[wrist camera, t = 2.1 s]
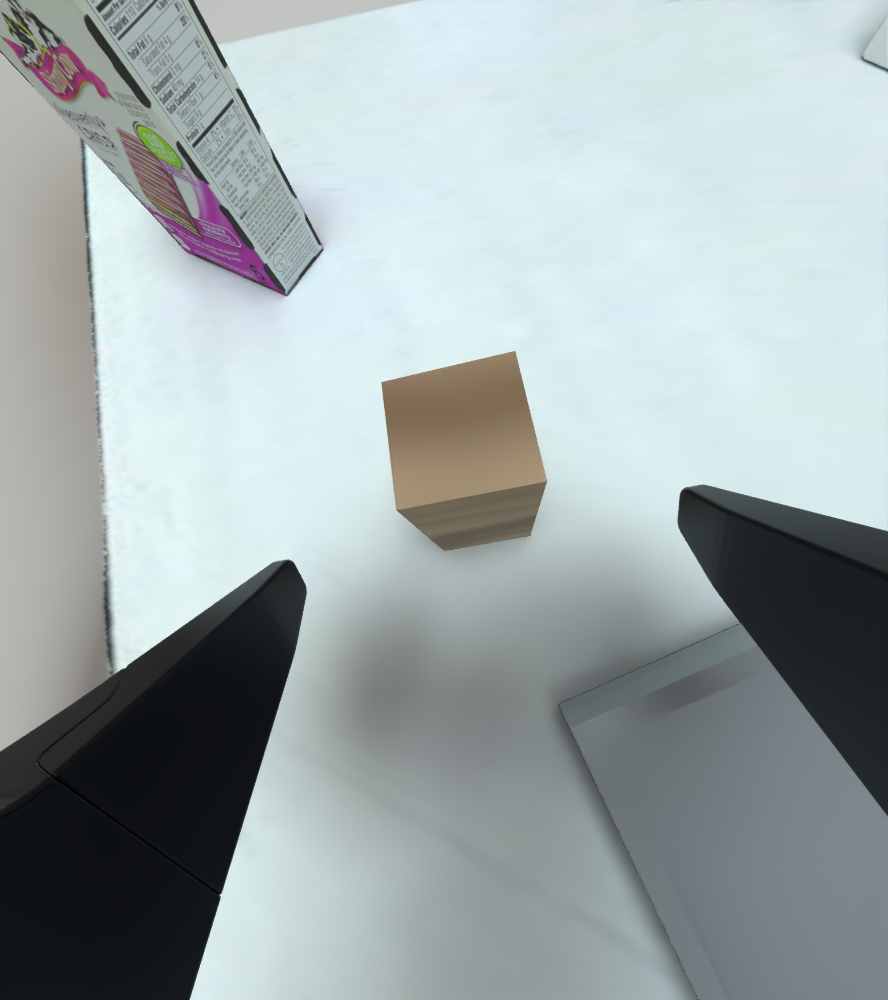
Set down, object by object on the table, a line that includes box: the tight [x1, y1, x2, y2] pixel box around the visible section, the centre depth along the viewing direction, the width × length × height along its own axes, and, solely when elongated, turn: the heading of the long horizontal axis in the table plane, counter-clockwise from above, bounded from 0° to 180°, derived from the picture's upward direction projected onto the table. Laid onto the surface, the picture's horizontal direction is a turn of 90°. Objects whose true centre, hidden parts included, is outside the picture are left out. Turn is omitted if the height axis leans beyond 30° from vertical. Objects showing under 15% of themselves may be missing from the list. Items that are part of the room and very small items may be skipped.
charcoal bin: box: [558, 623, 888, 1000], centre depth 13 cm, size 16×16×4 cm
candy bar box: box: [0, 0, 323, 295], centre depth 20 cm, size 11×5×16 cm, turn 59°
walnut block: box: [381, 351, 547, 551], centre depth 16 cm, size 4×4×9 cm
